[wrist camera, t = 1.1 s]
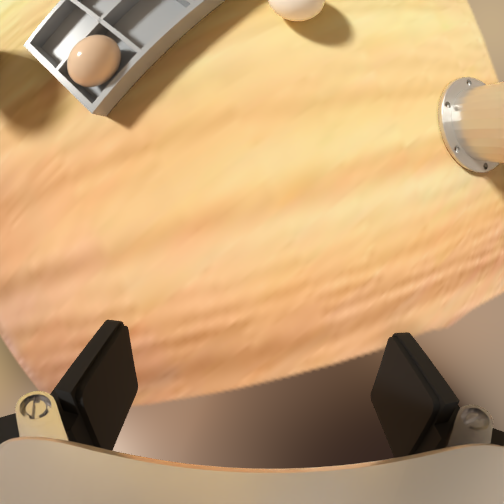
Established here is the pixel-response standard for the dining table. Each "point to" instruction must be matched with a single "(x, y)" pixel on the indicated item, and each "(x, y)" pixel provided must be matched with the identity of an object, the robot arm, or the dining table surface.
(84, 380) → the robot arm
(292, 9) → the cream egg
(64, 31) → the egg tray
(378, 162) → the dining table surface
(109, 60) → the brown egg
